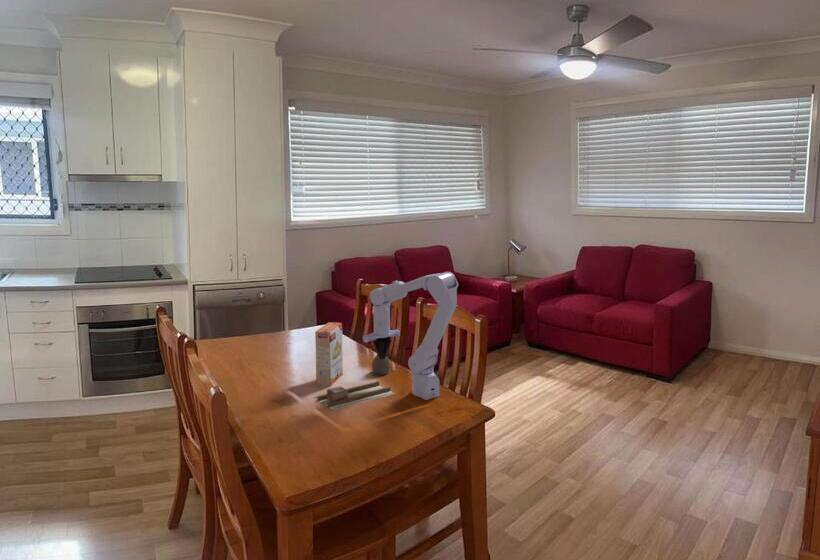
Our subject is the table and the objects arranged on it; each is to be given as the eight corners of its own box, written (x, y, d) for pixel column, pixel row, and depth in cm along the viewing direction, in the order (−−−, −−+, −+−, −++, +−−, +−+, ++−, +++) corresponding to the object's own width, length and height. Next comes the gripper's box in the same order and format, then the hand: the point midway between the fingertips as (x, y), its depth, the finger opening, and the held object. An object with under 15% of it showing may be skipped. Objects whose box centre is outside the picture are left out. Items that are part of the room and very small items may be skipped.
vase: (382, 379, 213) (382, 356, 211) (368, 375, 217) (367, 353, 215) (393, 374, 218) (393, 352, 217) (379, 370, 223) (379, 348, 221)
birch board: (395, 396, 196) (395, 390, 196) (333, 413, 182) (333, 407, 182) (373, 384, 208) (373, 378, 207) (313, 399, 194) (313, 393, 193)
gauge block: (347, 400, 190) (347, 390, 190) (334, 404, 187) (334, 393, 187) (340, 395, 194) (340, 385, 194) (327, 399, 191) (327, 388, 191)
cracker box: (331, 389, 203) (330, 332, 200) (315, 388, 204) (313, 331, 201) (344, 375, 217) (342, 322, 213) (328, 374, 218) (327, 321, 214)
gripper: (392, 316, 209) (392, 351, 212) (358, 322, 201) (358, 359, 203) (403, 319, 204) (403, 356, 206) (368, 326, 195) (369, 364, 198)
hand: (382, 358), depth 204 cm, fingers closed
